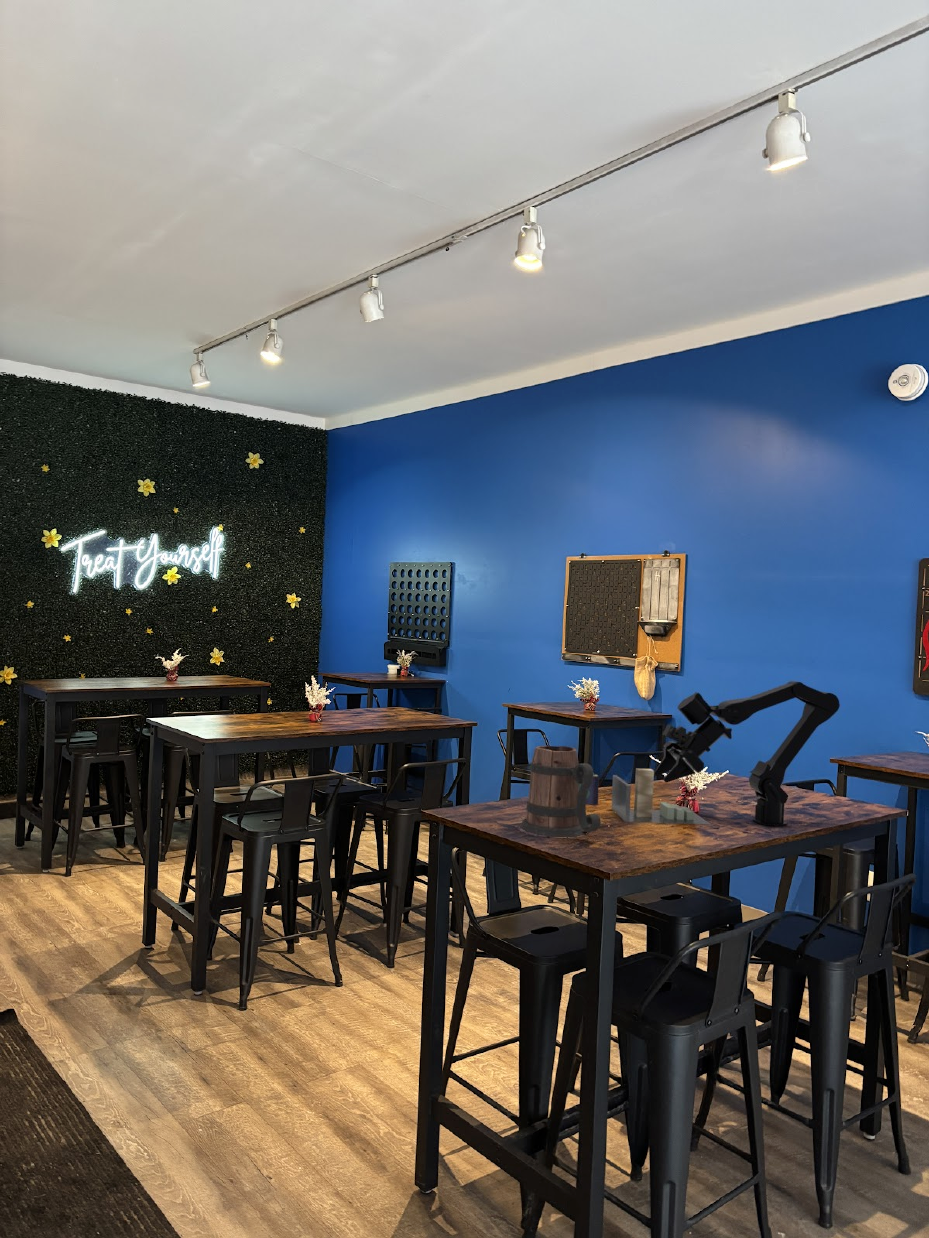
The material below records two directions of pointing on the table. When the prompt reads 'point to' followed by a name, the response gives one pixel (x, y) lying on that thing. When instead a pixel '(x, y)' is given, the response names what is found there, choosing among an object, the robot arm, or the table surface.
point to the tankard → (559, 794)
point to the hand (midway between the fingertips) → (659, 778)
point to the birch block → (643, 792)
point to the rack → (622, 808)
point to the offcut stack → (675, 812)
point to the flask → (592, 791)
